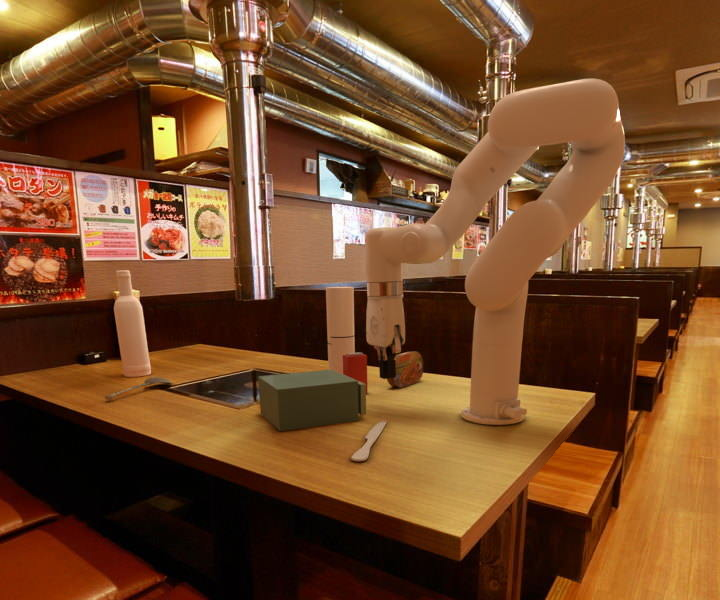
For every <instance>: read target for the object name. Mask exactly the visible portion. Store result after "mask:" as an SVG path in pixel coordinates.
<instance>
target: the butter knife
mask: <svg viewBox="0 0 720 600" xmlns="http://www.w3.org/2000/svg"><path fill="white" fill-rule="evenodd" d="M387 422H388V420H387V421H385V420H383V421H379V422H378V423H376V424H375V425H374V426H373V427H372V428H370V430H369V431H368V433H367V434H366V435H365V437H364V439H366V440H367V441H366V442H365V443H364V444H363V446H361V447H360V448H359V449H358V450H357V451H355V452H354V453H353V454H352V455H351V457H350V459H351V461H353V462H357V463H359V462H365V461H366V460H367V459H368V458H369V456H370V450H371V448H372V446H373V444H374V443H375V442H376V440H377V439H378V437H379V436H380V434H381V433H382V431H383V430H384V429H385V426H386V425H387Z"/></svg>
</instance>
